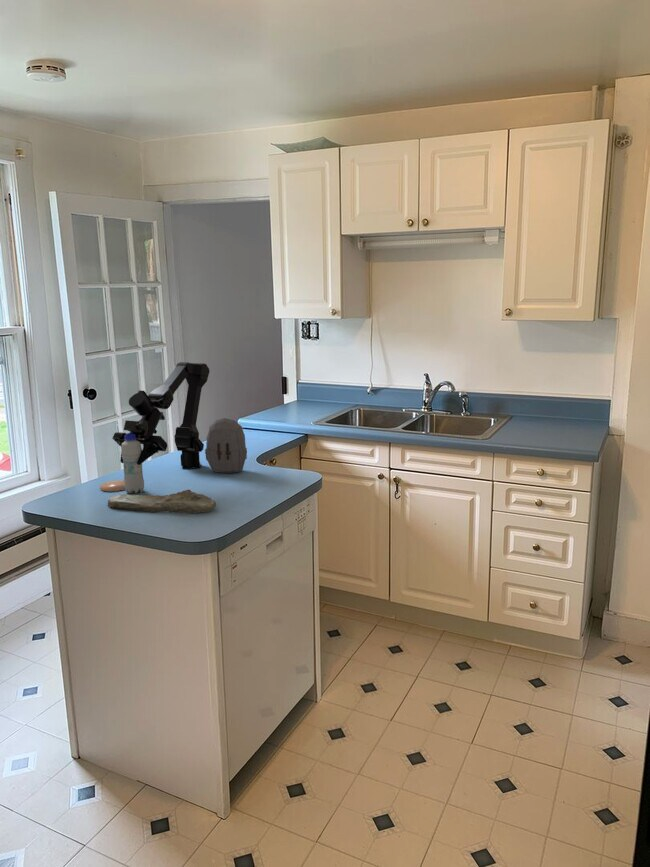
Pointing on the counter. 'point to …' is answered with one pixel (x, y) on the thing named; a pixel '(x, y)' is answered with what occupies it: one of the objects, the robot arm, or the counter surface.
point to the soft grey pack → (226, 446)
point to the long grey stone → (164, 502)
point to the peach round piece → (112, 486)
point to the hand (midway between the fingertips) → (129, 463)
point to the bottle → (132, 464)
